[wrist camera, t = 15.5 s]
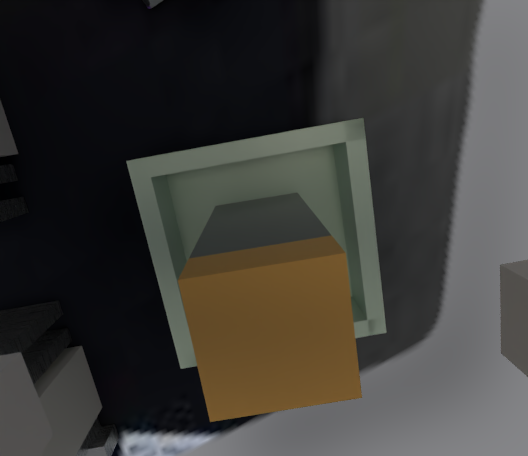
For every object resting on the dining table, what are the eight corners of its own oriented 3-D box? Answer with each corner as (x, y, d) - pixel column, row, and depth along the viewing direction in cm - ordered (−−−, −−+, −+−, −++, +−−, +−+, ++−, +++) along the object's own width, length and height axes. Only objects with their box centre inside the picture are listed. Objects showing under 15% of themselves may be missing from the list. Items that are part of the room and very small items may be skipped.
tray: (191, 333, 26) (180, 368, 22) (147, 156, 23) (126, 161, 19) (365, 302, 25) (386, 332, 22) (344, 121, 23) (363, 117, 19)
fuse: (230, 282, 24) (210, 421, 12) (215, 205, 23) (177, 280, 11) (308, 269, 24) (362, 397, 12) (297, 192, 23) (345, 252, 11)
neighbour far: (33, 419, 27) (-72, 556, 18) (10, 358, 26) (-115, 473, 17) (102, 407, 27) (30, 539, 18) (81, 345, 26) (-7, 455, 17)
